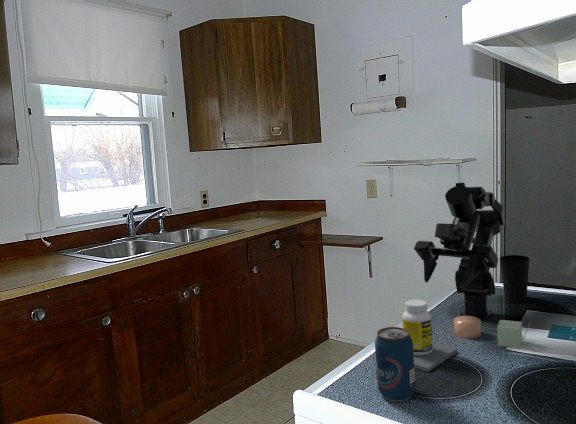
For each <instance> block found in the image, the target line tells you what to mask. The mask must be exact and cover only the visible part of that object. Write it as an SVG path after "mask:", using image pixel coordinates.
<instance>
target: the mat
mask: <svg viewBox="0 0 576 424" xmlns="http://www.w3.org/2000/svg"><path fill="white" fill-rule="evenodd" d="M456 353H458V349H457V348H456V347H452V346H449V345H444V344H442V343H441V344H440V343H436V342H433V350H432V352H431V353H430V354H427V355H423V356H416V355H414V369H417V370H420V371H423V372H427V373H429V372H430V371H432V370H433V369H435V368H436V367H437V366H439V365H441V364H442V363H443V362H445V361H446V360H448V359H449V358H451V357H452V356H453V355H455V354H456Z"/></svg>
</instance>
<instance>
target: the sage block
mask: <svg viewBox="0 0 576 424" xmlns="http://www.w3.org/2000/svg"><path fill="white" fill-rule="evenodd" d="M522 323H523V322H522V321H515V320H505V319H500V320H499V321H498V323H497V328H496V330H497V331H496V332H497V346H499V347H506V348H513V347H519V348H518V349H521V348H520V347H522V344H521V343H523V324H522Z"/></svg>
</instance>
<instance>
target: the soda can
mask: <svg viewBox="0 0 576 424" xmlns="http://www.w3.org/2000/svg"><path fill="white" fill-rule="evenodd" d="M376 334H377V336H376V338H375V340H374V351H375V353H374V354H375V364H376V365H375V366H376V378H377V379H376V381H377V389H378V391H379V392H380V394H381V396H382V397H383V398H384V399H386V400H388V401H391V402H405V401H408V400H409V399H411V398H412V397H413V395H414V393H415V392H416V386H417V385H416V372H415V369H416V368H414V353H413V341H412V339H411V337H410V336H409V332H408V331H407V330H406V329H404V328H403V327H398V326H389V327H382V328H380V329H378V331H377V332H376Z"/></svg>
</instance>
